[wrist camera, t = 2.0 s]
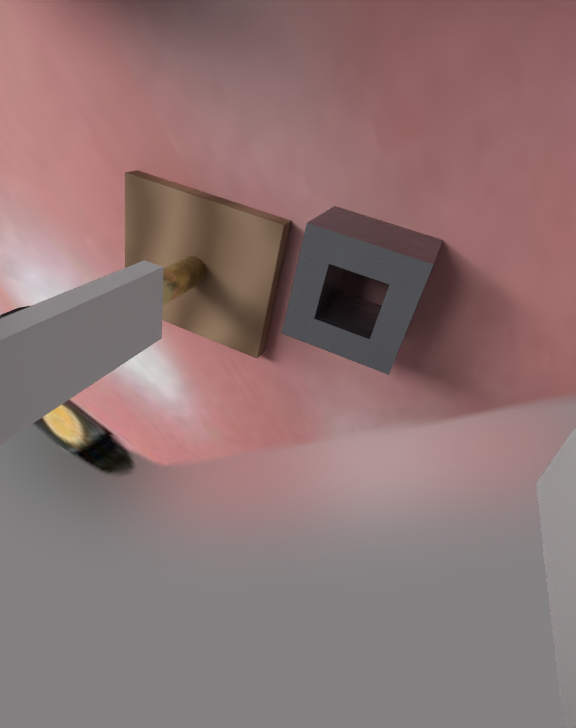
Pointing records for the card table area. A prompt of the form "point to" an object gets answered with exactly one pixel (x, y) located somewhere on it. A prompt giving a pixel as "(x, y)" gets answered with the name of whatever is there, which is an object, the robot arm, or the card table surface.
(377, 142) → the card table surface
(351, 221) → the grey hollow square block
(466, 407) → the card table surface
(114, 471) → the card table surface
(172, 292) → the keeper pin
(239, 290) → the board
